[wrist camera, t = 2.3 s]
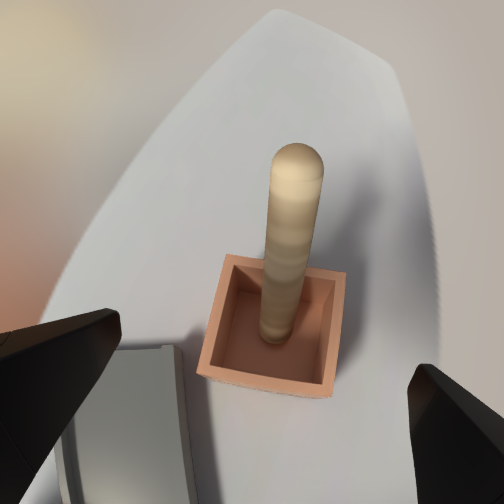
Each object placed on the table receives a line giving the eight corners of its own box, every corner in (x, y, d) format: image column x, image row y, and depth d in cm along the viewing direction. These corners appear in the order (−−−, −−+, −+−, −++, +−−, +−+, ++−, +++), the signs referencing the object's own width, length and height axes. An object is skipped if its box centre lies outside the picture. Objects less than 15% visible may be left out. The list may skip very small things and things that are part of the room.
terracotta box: (316, 398, 19) (331, 396, 14) (211, 380, 20) (195, 372, 15) (330, 300, 22) (346, 272, 18) (234, 285, 23) (226, 253, 19)
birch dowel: (288, 350, 20) (317, 265, 9) (256, 344, 20) (244, 254, 9) (301, 271, 23) (328, 136, 12) (271, 266, 23) (275, 129, 12)
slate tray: (211, 570, 12) (206, 583, 10) (91, 552, 12) (78, 560, 10) (181, 350, 21) (173, 344, 19) (66, 353, 21) (51, 347, 19)
